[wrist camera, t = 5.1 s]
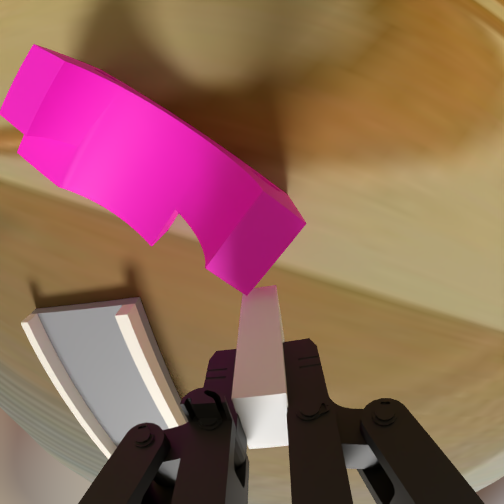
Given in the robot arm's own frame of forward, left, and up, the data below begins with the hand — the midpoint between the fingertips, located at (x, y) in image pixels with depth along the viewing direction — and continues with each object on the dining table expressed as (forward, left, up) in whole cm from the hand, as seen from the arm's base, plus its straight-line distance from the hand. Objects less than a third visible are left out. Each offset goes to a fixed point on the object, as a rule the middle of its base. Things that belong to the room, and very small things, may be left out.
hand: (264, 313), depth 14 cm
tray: (+10, -14, -6) cm, 19 cm away
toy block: (-8, -5, -6) cm, 11 cm away
